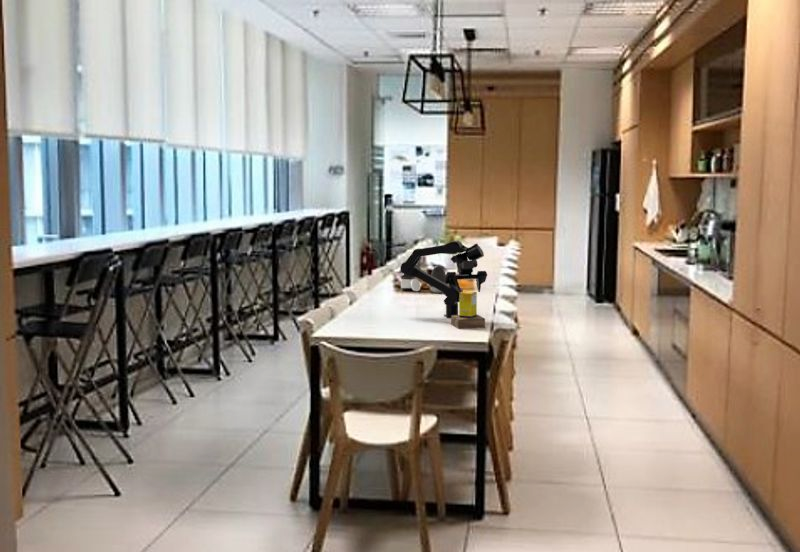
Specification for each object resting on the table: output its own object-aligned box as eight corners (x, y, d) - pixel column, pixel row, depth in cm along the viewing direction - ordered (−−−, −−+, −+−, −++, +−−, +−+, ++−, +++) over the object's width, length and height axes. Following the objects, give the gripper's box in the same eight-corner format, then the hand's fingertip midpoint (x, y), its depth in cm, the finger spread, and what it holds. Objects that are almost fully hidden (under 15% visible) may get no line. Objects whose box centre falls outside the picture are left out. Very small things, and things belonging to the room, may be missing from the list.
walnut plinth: (451, 324, 411) (451, 315, 410) (476, 323, 413) (476, 314, 413) (458, 328, 399) (458, 319, 398) (484, 327, 401) (484, 318, 401)
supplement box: (464, 315, 410) (464, 290, 408) (476, 316, 407) (477, 291, 406) (458, 317, 405) (458, 292, 403) (471, 318, 402) (471, 293, 400)
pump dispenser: (426, 293, 512) (426, 265, 510) (433, 290, 522) (433, 264, 520) (443, 293, 508) (443, 266, 506) (450, 291, 518) (450, 264, 516)
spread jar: (404, 288, 531) (403, 268, 530) (423, 289, 528) (422, 269, 527) (398, 291, 520) (398, 271, 518) (417, 292, 517) (417, 271, 515)
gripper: (446, 254, 417) (453, 281, 407) (486, 253, 421) (493, 280, 411) (442, 269, 425) (448, 296, 416) (480, 268, 429) (488, 295, 420)
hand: (469, 291), depth 415 cm, fingers open, 9 cm apart
